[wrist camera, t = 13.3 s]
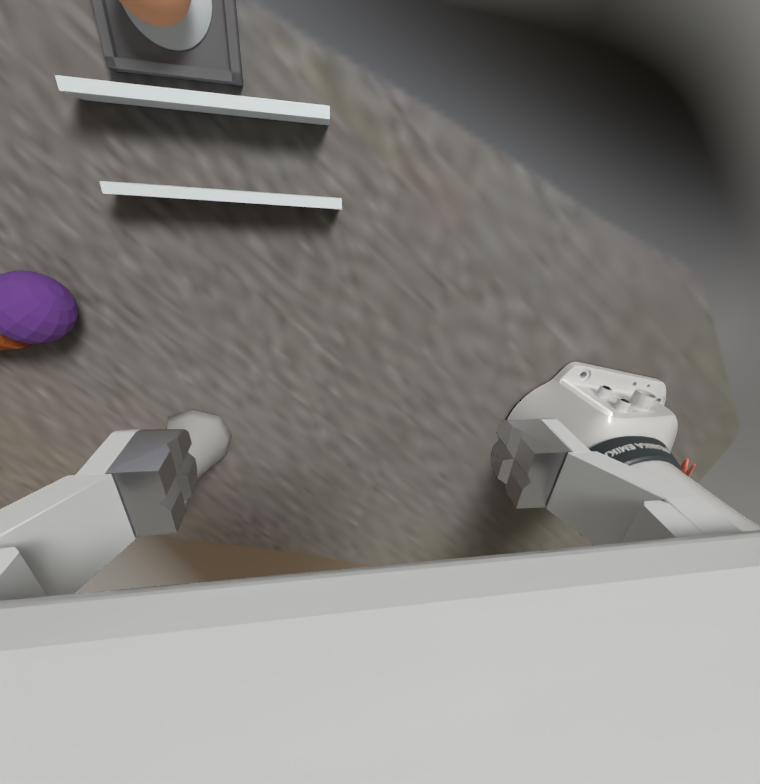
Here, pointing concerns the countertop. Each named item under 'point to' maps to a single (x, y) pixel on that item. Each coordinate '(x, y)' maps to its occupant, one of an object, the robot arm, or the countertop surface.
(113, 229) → the countertop surface
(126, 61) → the gray square tray
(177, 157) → the countertop surface
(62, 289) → the purple and orange maraca
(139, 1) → the ball
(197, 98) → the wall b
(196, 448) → the flask
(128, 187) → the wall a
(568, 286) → the countertop surface
